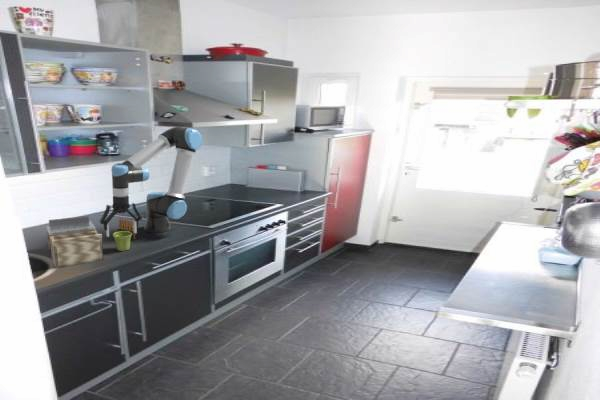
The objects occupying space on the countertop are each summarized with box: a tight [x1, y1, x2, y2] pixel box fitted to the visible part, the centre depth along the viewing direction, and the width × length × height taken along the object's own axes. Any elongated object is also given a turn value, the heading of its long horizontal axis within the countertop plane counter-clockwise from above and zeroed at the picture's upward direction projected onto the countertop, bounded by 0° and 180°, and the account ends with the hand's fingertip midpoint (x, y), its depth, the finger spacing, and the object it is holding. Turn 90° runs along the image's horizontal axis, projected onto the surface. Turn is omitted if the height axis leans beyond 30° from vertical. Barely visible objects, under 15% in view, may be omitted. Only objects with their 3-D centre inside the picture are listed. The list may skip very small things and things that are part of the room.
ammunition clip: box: [117, 217, 137, 241], centre depth 226 cm, size 11×2×12 cm, turn 74°
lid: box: [46, 215, 97, 236], centre depth 204 cm, size 20×12×4 cm, turn 127°
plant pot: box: [112, 231, 132, 252], centre depth 211 cm, size 9×9×9 cm
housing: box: [46, 229, 104, 269], centre depth 200 cm, size 20×28×13 cm
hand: (121, 234), depth 209 cm, fingers open, 13 cm apart
